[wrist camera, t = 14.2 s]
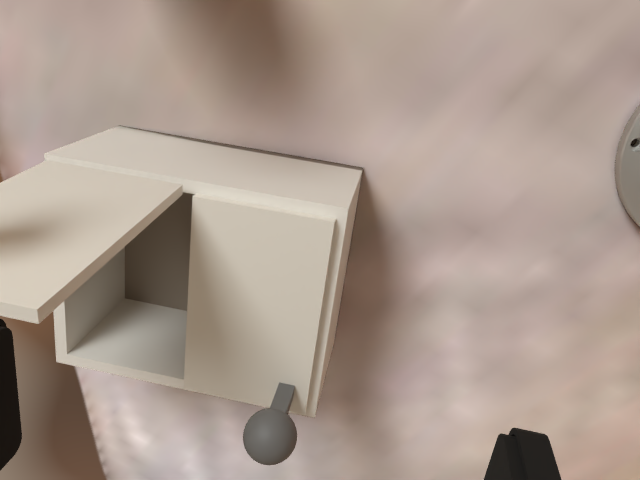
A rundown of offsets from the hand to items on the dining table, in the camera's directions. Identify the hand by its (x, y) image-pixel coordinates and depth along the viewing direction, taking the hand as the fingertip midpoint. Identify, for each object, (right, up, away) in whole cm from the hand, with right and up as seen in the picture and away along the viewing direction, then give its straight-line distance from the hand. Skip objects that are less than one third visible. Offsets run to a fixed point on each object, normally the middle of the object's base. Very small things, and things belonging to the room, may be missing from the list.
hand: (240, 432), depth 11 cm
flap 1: (-11, +4, +16) cm, 20 cm away
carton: (-5, +4, +33) cm, 33 cm away
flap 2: (-2, -1, +24) cm, 24 cm away
